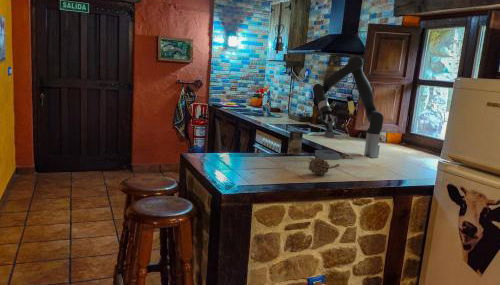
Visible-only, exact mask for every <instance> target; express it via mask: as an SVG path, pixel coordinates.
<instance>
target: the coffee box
mask: <svg viewBox="0 0 500 285" xmlns="http://www.w3.org/2000/svg"><path fill="white" fill-rule="evenodd" d="M303 134H304V132H303V131H296V130H289V137H288V146H287V155H289V154H293V155H292V156H298V155H300V156H301V153H302V144H303V136H304V135H303Z"/></svg>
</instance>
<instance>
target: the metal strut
mask: <svg viewBox="0 0 500 285" xmlns="http://www.w3.org/2000/svg"><path fill="white" fill-rule="evenodd" d="M327 123H328V126H329V129H328V130H327V129H326V128H325V129H326V130H324V136H323V137H324V138H327V139H334V138H335V137H334V136H335V131H334V130H333V127H334V123H332V122H329V121H327Z"/></svg>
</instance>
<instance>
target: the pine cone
mask: <svg viewBox="0 0 500 285" xmlns="http://www.w3.org/2000/svg"><path fill="white" fill-rule="evenodd" d="M325 161H326V162H325ZM338 167H340V163H336V164H335V165H332V166H330V164H329V163H328V161H327V160H324V159H322V160H321V158H319V157H318V159H317V158H315V157H314V158H312V159H310V161H309V162H308V170H309V171H311V173H312V174H315V175H321V176H322V175H326V173H327V174H328V173H329V172H330V171H329V170H331V169H336V168H338Z"/></svg>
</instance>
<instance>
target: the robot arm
mask: <svg viewBox="0 0 500 285" xmlns="http://www.w3.org/2000/svg"><path fill="white" fill-rule="evenodd" d="M363 65H364V60H363V58H362V57H361V56H358V55H352V56H350V57H349V58H348V60H347V63H346V64H345V65H344V66H342V68H340V69H338V70H337V71H335V72H333V73H332V74H330V75H329V76H328V77H326V78H325V79H324V80H323V85H322V84H320V83H315V84H314V85H313V87H312V92H313V95H314V98H315V99H316V103H317V106H318V110H319V113H320V115H318V117H317V119H318V121H319V122H320V123H321V125H324V128H325V129H327V130H328V129H329V126H328V123H327V122H332V123H334V127H333V131H335V130H336V129H337V126H336V125H337V123H338V116H337V115H335V116H334V115H333V113H332V109H331V106H330V104H329V100H328V98H327V96H326V94H328V92H329V91H330V89H331V88H332V87H334V86H335V85H337V84H338V83H339V82H341V80H343V79H345V77H347V76H349V75H350V74H352V77H353V79H354V81H355V85H356V89H357V91H358V92H357V93H358V95H359V97H360V100H361V103H362V104H363V107H364V111H365V114H366V118H367V120H368V122H369V127H368V128H367V129H366V135H365V143H364V153H363V156H364V157H367V158H371V159H372V158H373V159H374V158H379V155H380V147H381V144H380V137H381V132H382V130H383V124H384V115H383V113H382V112H380V111H378V110H377V108H376V105H375V102H374V93H373V89H372V86H371V83H370V82H369V80H368V78H367V76H366V75H365V73H364V71H363Z"/></svg>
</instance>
